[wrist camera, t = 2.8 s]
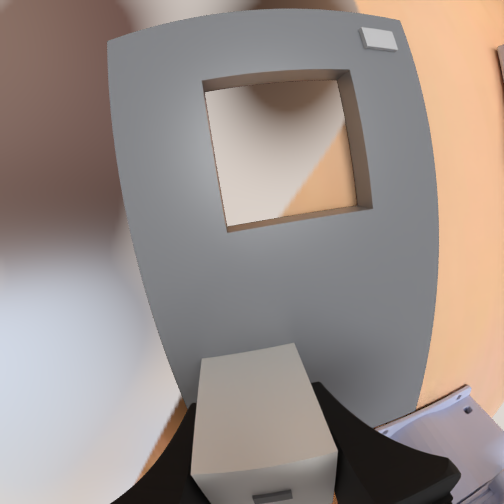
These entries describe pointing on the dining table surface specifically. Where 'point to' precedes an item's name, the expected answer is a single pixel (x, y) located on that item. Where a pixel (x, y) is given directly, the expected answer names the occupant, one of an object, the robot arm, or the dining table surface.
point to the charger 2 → (501, 57)
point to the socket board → (290, 227)
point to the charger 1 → (261, 431)
